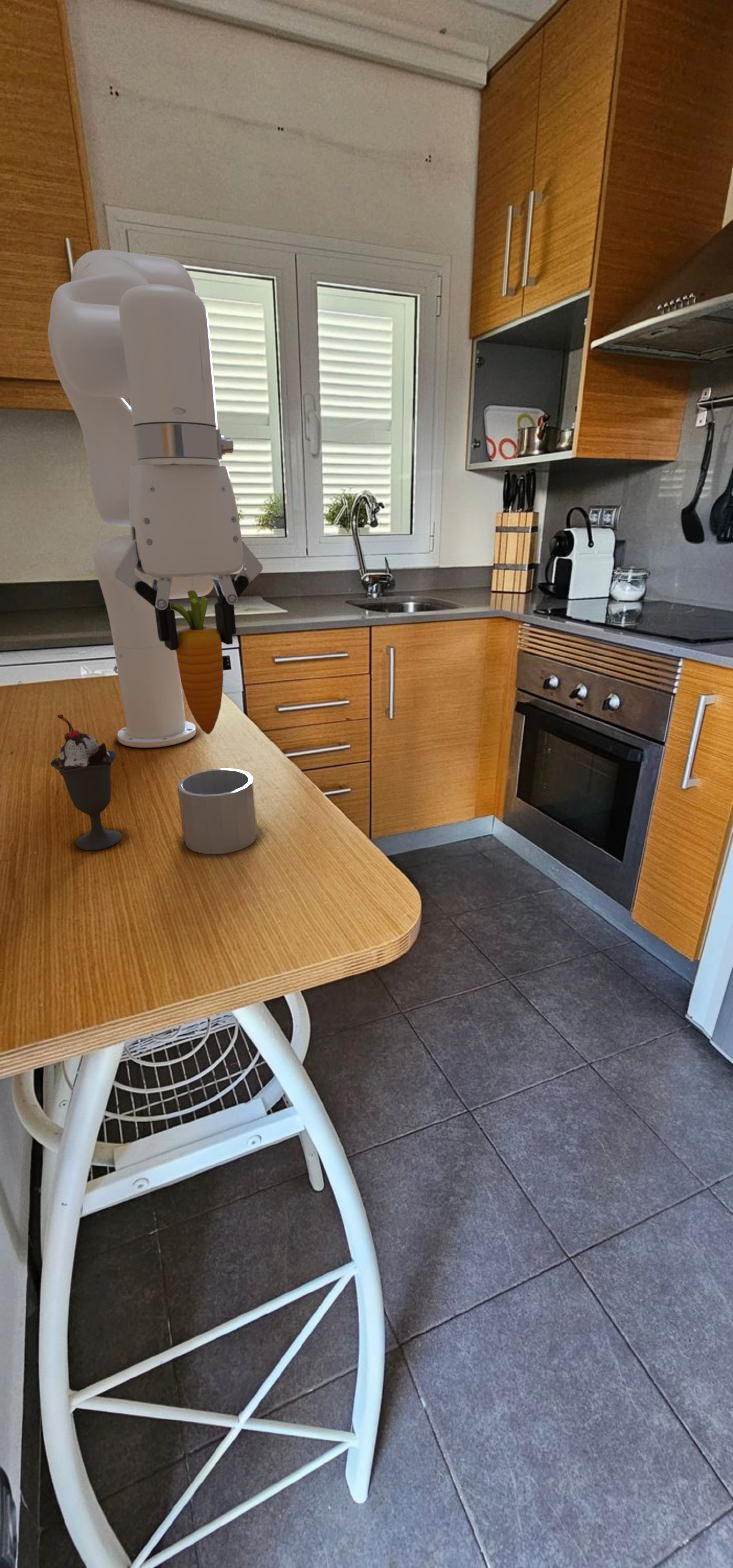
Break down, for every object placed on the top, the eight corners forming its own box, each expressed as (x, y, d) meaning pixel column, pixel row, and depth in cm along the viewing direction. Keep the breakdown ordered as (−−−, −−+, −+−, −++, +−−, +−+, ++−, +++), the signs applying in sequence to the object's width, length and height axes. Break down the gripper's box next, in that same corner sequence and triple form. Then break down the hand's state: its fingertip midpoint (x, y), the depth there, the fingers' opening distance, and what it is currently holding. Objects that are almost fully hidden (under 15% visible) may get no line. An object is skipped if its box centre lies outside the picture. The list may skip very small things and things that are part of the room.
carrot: (220, 742, 71) (206, 594, 65) (176, 739, 72) (158, 594, 66) (238, 728, 76) (226, 589, 70) (196, 725, 76) (181, 588, 71)
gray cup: (177, 831, 80) (169, 776, 77) (243, 817, 83) (239, 763, 81) (195, 861, 73) (188, 801, 70) (267, 843, 77) (263, 786, 74)
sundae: (66, 834, 79) (42, 711, 74) (126, 824, 82) (107, 703, 76) (68, 859, 74) (41, 727, 68) (132, 847, 76) (111, 719, 71)
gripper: (251, 454, 70) (263, 632, 77) (76, 450, 63) (107, 647, 69) (278, 449, 64) (289, 643, 71) (87, 443, 56) (119, 660, 63)
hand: (198, 643), depth 70 cm, fingers closed on carrot, 5 cm apart
